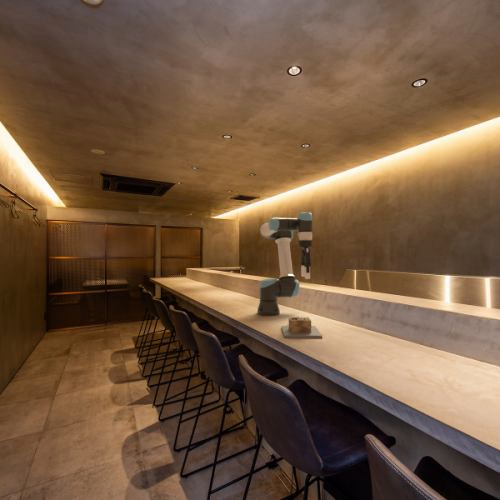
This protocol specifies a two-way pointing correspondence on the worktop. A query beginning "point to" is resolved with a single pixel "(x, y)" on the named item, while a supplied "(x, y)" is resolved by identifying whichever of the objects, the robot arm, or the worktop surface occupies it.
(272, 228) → the robot arm
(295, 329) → the open wooden box
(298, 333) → the base
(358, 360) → the worktop surface
